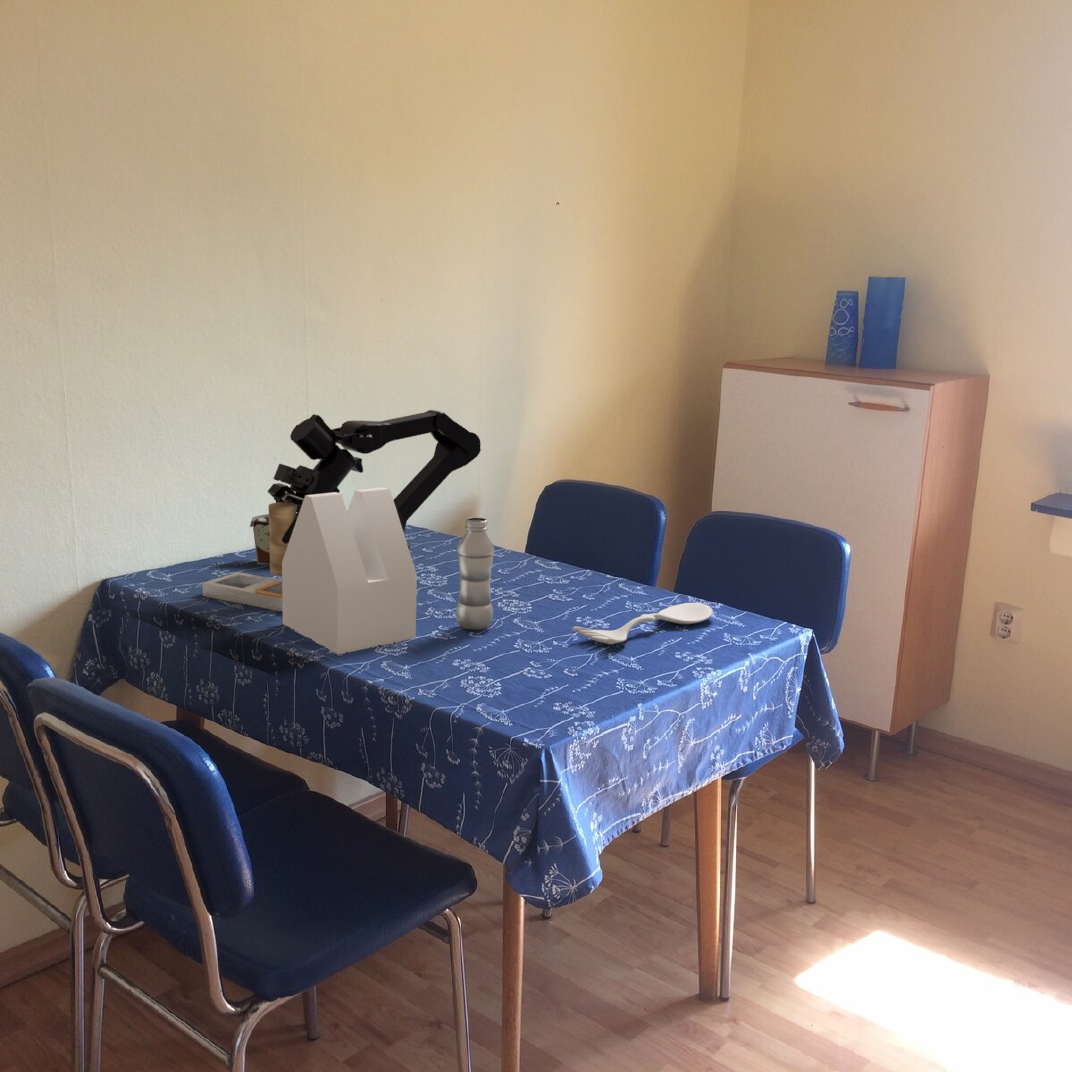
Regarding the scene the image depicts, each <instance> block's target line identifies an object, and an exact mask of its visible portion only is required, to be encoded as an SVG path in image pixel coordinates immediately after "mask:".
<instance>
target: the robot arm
mask: <svg viewBox="0 0 1072 1072" xmlns="http://www.w3.org/2000/svg"><path fill="white" fill-rule="evenodd" d="M426 434H430V435H431V436H432V438H433V439H434V440H435V441H436V442H437V443H436V445H435V448H434V449H435V450H434V453H433V457H432V458H431V459H430V460H429V461H428V462H427V463H426V464H425V466H423V468H422V469H420V470H419V472H418V473H417V474H416V475H415V476H414V477H413V478H412V479H411V480H410V481H409V483H408V484H407V485H406V486H405V487H404V488H403V489H402V490H401V491H400V492H399V493H398V494H397V495H396V496H395V498H393V501H394V504H395V507H396V510H397V513H398V516H399V520H400V523H401V526H402V529H403V532H404V533H405V530H406V527H407V522H408V521H409V519H410V518H411V517H412V516H413V515H414V514H415V512H416V511H417V510H418V509H419V508H420V507H421V506H422V505H423V504H425V503H424V502H426V500H427V499H428V498H429V497H430V496H432V494H433V493H434V492H435V491H436V490H437V488H438V487H439V486H440V485H442V483H443V482H444V481H445V480H446V479H447V477H449V475H450V474H452V473H453V472H455V471H456V470H459V469H461V468H463V467H466V466H467V465H469V464H470V463H471V462H472V461H474V460H475V459H476V458H477V457H478V456H479V455H480V453H481V451H482V448H481V439H480V437H479V436H478V434H476V433H475V432H472V431H469V430H468V429H467V428H465V427H464V426H462V425H460V423H458V422H456V421H455V420H453V419H452V417H450V416H449V415H447V413H445V412H444V411H439V410H435V409H428V410H427V411H425V412H424V411H423V412H419V413H414V414H410V415H406V416H400V417H395V418H391V419H385V420H380V421H378V420H377V421H375V420H347V421H345V422H343V423H342V424H341V425H340V427H336V428H330V427H329V425H327V423H326V422H325V420H324V419H323V418H322V417H321V416H320V415H319V414H314V413H313V414H312V415H311V416H310V417H309V418H306V419H305V420H302V421H301V422H300V423H298V424H296V426H294V428H293V429H292V431H291V433H290V437H289V438H290V440H291V441H292V443H294V444H295V445H296V446H297V448H299V449H300V450H301V452H303V453H304V454H305V455H306V456H307V457H308V458H309V459H310V460H312V461H316V460H319V461H318V462H317V464H316V465H315V466H314V467H313V468H309V467H307V466H305V465H304V466H303V465H300V464H299V465H298V466H297V467H296V468H295V467H292V466H288V465H286V464H283V463H278V466H277V468H276V471H275V473H274V476H273V480H274V481H277V482H278V483H273V484H272V485H271V486H270V488H269V489H268V490H267V493H268V494H269V495H270V496H272V498H273V500H274V501H275V503H278V502H288V503H294V504H296V518H295V519H294V521H293V522H292V524H291V525H290V527H289V528H288V530H287V531H286V533H285V535H284V537H283V538H282V542H283V543H285V544H287V543H289V541H290V538H291V535H292V532H293V529H294V526H295V523H296V521H297V518H298V515H299V512H300V509H301V506H302V503H303V501H304V498H305V495H314V494H323V493H333V492H337V493H340V492H341V490H340V489H339V486H340V485H341V484H342V482H343V481H344V480H345V478H347V476H348V475H349V473H350V472H351V471H353V472H356V473H360V474H361V473H364V466H363V459H362V458H360V457H357V456H355V455H354V456H353V454H352V453H351V452H350V451H352V452H356V453H360V454H361V455H362V454H364V455H365V454H371V453H372V452H376V451H377V450H380V449H382V448H384V447H385V445H387V444H389V443H390V442H394V441H398V440H402V439H407V438H413V437H416V436H421V435H426ZM337 444H338V445H340V446H341V447H342V448H340V447H339V446H338V445H337ZM279 481H280V482H281V483H279ZM283 483H284V484H283ZM286 484H287V485H286ZM288 485H289V486H288ZM268 536H269V532H268ZM408 548H409V550H410V549H411V547H410V545H408Z"/></svg>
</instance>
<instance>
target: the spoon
mask: <svg viewBox="0 0 1072 1072" xmlns="http://www.w3.org/2000/svg"><path fill="white" fill-rule="evenodd" d="M713 614H714V610H713V608H712V607H710V606H709V605H708V604H704V603H701V602H685V603H679V604H675V605H672V606H669V607H666V608H664V609H661V610H659V611H657V612H656V613H655V612H654V613H643V614H640V616H638V617H635V618H633V619H631V620H630V621H628V622H627V623H625V624H624V625H622V626H621V627H620V628H619V627H618V628H617V629H614V630H604V629H589V628H585V627H583V626H582V627H581V626H573V627H572V628H571V629H572V632H573V633H578V634H579V635H580V636H584V637H585V638H589V639H591V640H593V641H595V642H600V643H602V644H608V645H615V644H621V643H624V642H626V641H627V640H628V639H627V638H628V635H629V633H630V631H631V630H632V629H633V628H634V627H635V626H637V625H639V624H642V623H647V622H654V621H656V620H662V621H665V622H670V623H673V624H678V625H691V624H693V625H695V624H698V623H701V622H704V621H706V620H708V619H709V618H711V616H713Z"/></svg>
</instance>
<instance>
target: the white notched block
mask: <svg viewBox="0 0 1072 1072" xmlns="http://www.w3.org/2000/svg"><path fill="white" fill-rule="evenodd" d="M343 497H344V496H343V495H342V493H340V492H339V493H337V492H333V493H323V494H314V495H305V498H304V501H303V503H302V506H301V509H300V512H299V515H298V518H297V521H296V523H295V526H294V529H293V532H292V535H291V538H290V541H289V544H288V546H287V549H286V552H285V555H284V558H283V561H282V576H281V577H282V578H281V580H282V600H283V612H282V625H283V624H284V625H283V626H285V625H286V626H288V627H290V628H291V630H292V629H294V630H296V631H298V632H300V633H301V634H303V635H304V636H303V635H302V636H303V637H305V636H306V637H305V638H307V637H309V638H311V639H312V640H313V642H314V641H315V643H316V644H318V645H319V646H321V645H323V646H325V647H326V648H325V647H324V648H325V649H327V648H328V649H327V650H329V649H330V650H329V651H331V652H333V653H334V652H335V654H336V653H337V654H336V655H342V654H347V653H346V652H348V653H352V652H357V651H361V650H366V649H370V647H371V648H375V647H374V646H376V647H379V646H378V645H381V646H384V645H389V644H394V642H395V643H399V642H404V641H408V640H412V639H413V638H414V639H417V637H416V636H417V594H418V593H417V582H418V581H417V577H418V576H417V575H418V574H417V571H416V567H415V564H414V561H413V558H412V554H411V552H410V549H409V548H408V546H409V545H408V542H407V540H406V535H405V531H404V532H403V529H402V526H401V523H400V520H399V516H398V513H397V510H396V507H395V504H394V501H393V500H394V498H393V494H392V492H391V488H388V487H385V486H383V487H382V486H381V487H372V488H364V489H361V488H360V489H355V490H354V493H353V495H352V498H351V501H350V502H349V506H348V509H347V508H346V505H345V504H346V503H345V502H344V498H343ZM286 626H285V627H286ZM288 627H287V628H288ZM290 628H289V629H290ZM294 630H293V631H294ZM296 631H295V632H296ZM298 632H297V633H298ZM301 634H300V635H301ZM309 638H308V639H309ZM312 640H311V641H312ZM323 646H322V647H323Z"/></svg>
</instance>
